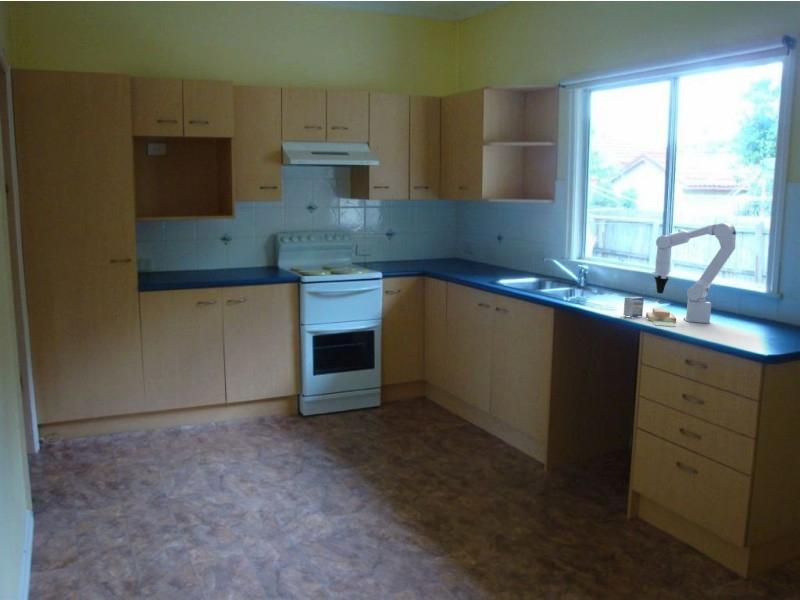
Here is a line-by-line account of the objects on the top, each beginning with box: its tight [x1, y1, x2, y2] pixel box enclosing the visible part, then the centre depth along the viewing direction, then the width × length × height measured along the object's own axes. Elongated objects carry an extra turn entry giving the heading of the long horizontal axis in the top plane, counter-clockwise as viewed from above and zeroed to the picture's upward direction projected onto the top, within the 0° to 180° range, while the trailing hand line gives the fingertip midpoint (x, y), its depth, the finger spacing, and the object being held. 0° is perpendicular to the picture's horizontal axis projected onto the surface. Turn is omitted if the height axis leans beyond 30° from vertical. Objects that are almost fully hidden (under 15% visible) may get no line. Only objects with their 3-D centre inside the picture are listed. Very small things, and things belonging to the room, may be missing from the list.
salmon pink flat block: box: [651, 307, 671, 317], centre depth 317 cm, size 6×9×2 cm, turn 167°
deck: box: [645, 311, 677, 324], centre depth 317 cm, size 11×11×2 cm
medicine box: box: [623, 296, 645, 318], centre depth 322 cm, size 8×4×9 cm, turn 126°
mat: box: [652, 321, 676, 328], centre depth 307 cm, size 8×10×1 cm
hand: (659, 292), depth 325 cm, fingers closed
